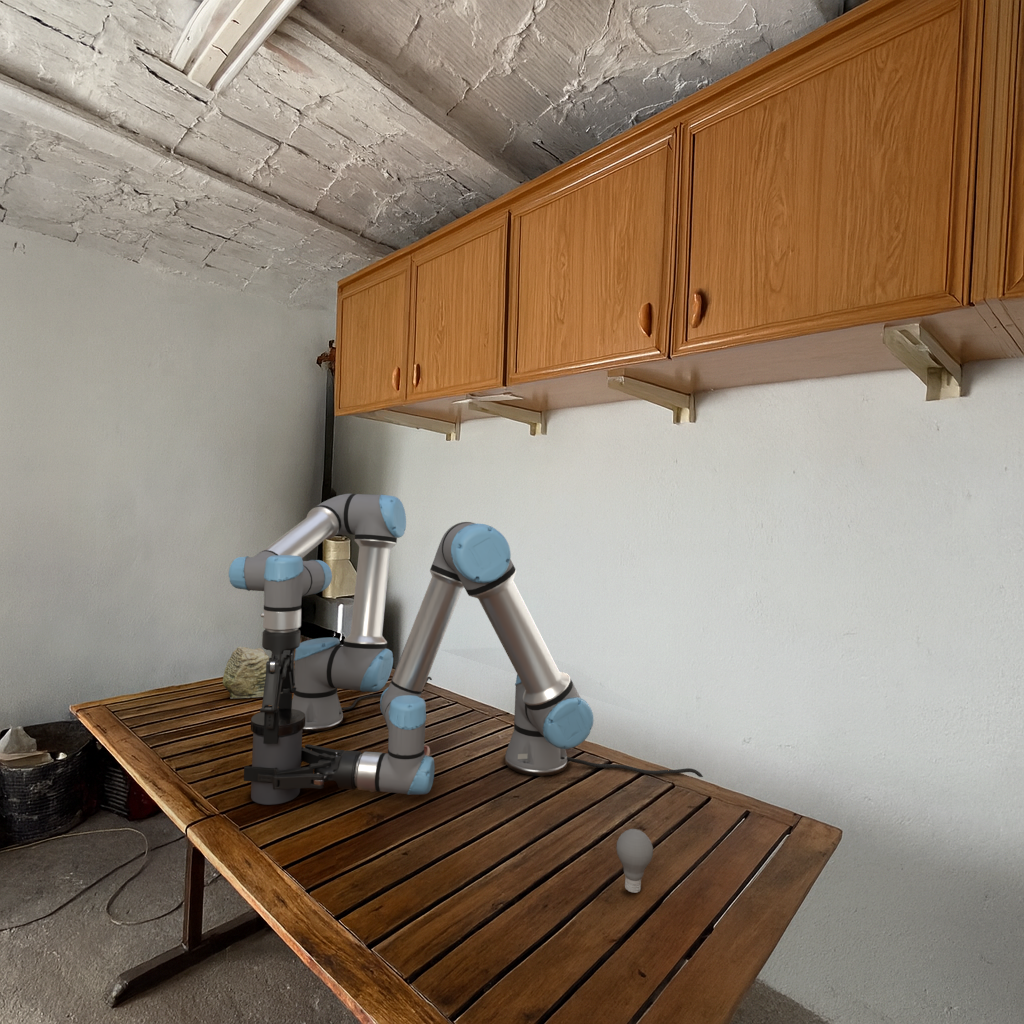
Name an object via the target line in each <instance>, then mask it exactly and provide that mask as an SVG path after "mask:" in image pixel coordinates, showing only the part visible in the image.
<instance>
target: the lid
mask: <svg viewBox="0 0 1024 1024" xmlns="http://www.w3.org/2000/svg"><path fill="white" fill-rule="evenodd" d="M278 711H279V732H278V736H283V735H288V734H292V733H295V732H298V731H300V730H301V729H303V728H304V726H305V714H304V713H303V712H302V711H299V710H295V709H278ZM264 713H265V712H260V711H259V712H257V713H255V714H254V715H252V717H251V719H250V731H251V732H252V734H253V733H255V734H258V735H262V736H264Z"/></svg>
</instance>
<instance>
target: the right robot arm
mask: <svg viewBox="0 0 1024 1024" xmlns="http://www.w3.org/2000/svg"><path fill="white" fill-rule="evenodd" d="M511 557H512V553H511V547H510V545H509V542H508V540H507V538H506V537H505V536H504V535H503V534H502V533H501V532H500V531H499V530H497V528H495V527H493V526H492V525H489V524H485V523H476V522H472V521H461V522H458V523H455V524H454V525H452V526H450V527H449V528H448V529H447V530H446V531H445V532H444V533H443V535H442V537H441V539H440V542H439V544H438V547H437V550H436V553H435V555H434V558H433V561H432V564H431V566H430V569H429V572H430V575H431V578H430V580H429V584H428V586H427V588H426V591H425V594H424V596H423V598H422V601H421V604H420V606H419V608H418V612H417V614H416V617H415V619H414V622H413V624H412V627H411V629H410V631H409V634H408V636H407V639H406V642H405V644H404V647H403V650H402V652H401V654H400V657H399V660H398V662H397V665H396V668H395V670H394V672H393V675H392V678H391V679H390V680H391V681H390V683H389V685H388V687H386V688H385V689H384V690H383V692H382V693H381V694H382V695H381V696H380V698H379V700H380V702H379V705H380V707H379V708H380V712H381V714H382V716H383V718H384V721H385V724H386V727H387V731H388V740H387V742H388V746H387V747H388V748H387V753H386V752H378V751H363V752H362V751H359V750H348V749H347V750H345V749H333V748H329V747H324V746H319V745H314V744H309V743H307V744H305V745H304V747H303V746H302V751H301V763H305V764H308V766H303V767H302V766H301V768H295V769H287V770H280V771H278V769H277V767H276V768H265V767H252V765H251V766H250V765H245V766H244V767H243V781H244V782H251V781H254V782H266V783H273V789H274V790H277V789H299V788H300V789H318V790H322V789H324V788H325V783H326V782H335V783H336V786H337V788H339V789H340V790H352V791H355V790H356V789H358V790H359V791H367V792H370V793H375V792H378V793H379V792H381V793H391V794H392V793H393V794H402V795H407V796H409V795H411V796H412V795H413V796H414V795H416V796H417V795H419V796H421V795H427V794H428V793H430V792H431V790H432V788H433V784H434V780H435V779H434V778H435V771H436V769H435V768H436V765H435V759H434V757H432V756H430V755H429V756H427V755H425V752H424V745H425V741H426V740H425V739H426V721H427V715H428V714H427V713H426V712H427V704H426V701H425V699H424V698H423V697H421V696H422V693H423V691H424V688H425V686H426V684H427V683H426V680H427V678H428V677H429V675H430V673H431V670H432V667H433V664H434V662H435V661H436V657H437V655H438V652H439V649H440V646H441V644H442V642H443V640H444V637H445V634H446V632H447V629H448V626H449V624H450V622H451V619H452V616H453V614H454V611H455V609H456V606H457V603H458V601H459V598H460V596H461V594H462V590H463V589H464V590H465V591H466V594H467V595H468V597H472V598H475V599H476V600H478V602H479V603H480V605H481V607H482V609H483V611H484V613H485V615H486V617H487V619H488V621H489V622H490V624H491V627H492V628H493V630H494V632H495V634H496V636H497V638H498V640H499V642H500V643H501V645H502V647H503V650H504V652H505V654H506V655H507V657H508V659H509V661H510V663H511V665H512V666H513V669H514V671H515V672H516V680H515V683H514V686H515V692H514V696H515V697H514V716H513V717H514V720H513V723H514V724H513V731H512V734H511V737H510V740H509V742H508V745H507V748H506V751H505V755H504V756H505V757H504V763H505V765H506V766H507V767H508V768H509V769H511V770H512V771H514V772H516V773H519V774H522V775H527V776H533V777H547V776H554V775H558V774H560V773H562V772H564V771H565V770H566V769H567V767H568V762H570V763H571V762H572V763H576V764H581V765H585V766H588V767H592V768H599V769H622V770H627V771H633V772H635V773H641V774H644V775H668V774H683V773H692V774H695V775H696V776H697V777H699V778H703V777H704V776H703V774H702V773H701V772H700V771H699V770H697V769H694V768H689V767H687V768H679V769H678V768H677V769H658V770H652V769H651V770H650V769H643V768H638V767H635V766H630V765H627V764H617V763H616V764H615V763H596V762H590V761H586V760H583V759H578V758H574V757H570V756H568V754H567V750H570V749H573V748H577V747H578V746H580V745H581V744H583V742H584V741H586V740H587V739H588V737H589V736H590V734H591V731H592V729H593V726H594V721H595V720H594V712H593V709H592V707H591V706H590V704H589V703H588V702H587V701H586V700H585V699H584V698H582V697H581V696H580V694H579V692H578V690H577V688H576V687H575V683H574V682H573V680H572V678H571V677H570V675H569V674H568V673H567V672H564V671H562V670H559V668H558V666H557V664H556V662H555V660H554V658H553V656H552V654H551V651H550V650H549V648H548V646H547V643H546V642H545V640H544V639H543V636H542V634H541V631H540V630H539V628H538V626H537V624H536V622H535V620H534V618H533V616H532V614H531V612H530V610H529V608H528V606H527V605H526V602H525V601H524V598H523V597H522V595H521V592H520V591H519V588H518V587H517V585H516V582H515V581H514V579H515V577H516V574H517V569H516V567H515V565H514V563H513V561H512V559H511ZM425 683H426V684H425ZM668 770H669V771H668Z"/></svg>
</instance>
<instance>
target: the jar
mask: <svg viewBox="0 0 1024 1024" xmlns="http://www.w3.org/2000/svg"><path fill="white" fill-rule="evenodd" d="M263 740H264V736H262V735H258V734H255V733H253V732H252V755H251V756H252V757H251V766H252V767H265V768H276V767H277V769H278V771H280V770H287V769H295V768H302V762H301V751H302V747H303V732H302V729H301V730H300V731H298V732H295V733H292V734H288V735H283V736H278V743H277V744H263ZM250 782H251V783H250V785H251V786H250V798H251V800H252V802H254V803H255V804H260V805H265V806H267V805H268V806H272V805H279V804H284V803H288V802H290V801H292V800H294V799H296V798H297V797H298V796H299V795H300V793H301V788H299V789H277V790H274V789H273V783H266V782H254V781H250Z"/></svg>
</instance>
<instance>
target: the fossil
mask: <svg viewBox="0 0 1024 1024" xmlns="http://www.w3.org/2000/svg"><path fill="white" fill-rule="evenodd" d="M269 658H270V656H269V655H268V654H267V653H266V652H265V649H264V648H260V647H258V648H251V647H247V646H246V647H245V646H238V647H237V648H236V649H235V650H233V651H232V653H231V656H230V657H229V659H228V660H227V663H226V666H225V668H224V671H223V675H222V676H223V677H222V685H223V687H224V688H225V690H226V691H228V693H229V698H230V699H250V698H263V693H264V685H265V676H266V663H267V661H269ZM281 693H283V692H281Z"/></svg>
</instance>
